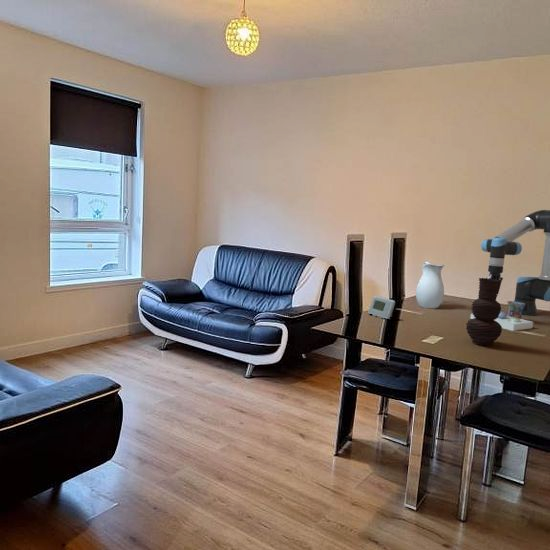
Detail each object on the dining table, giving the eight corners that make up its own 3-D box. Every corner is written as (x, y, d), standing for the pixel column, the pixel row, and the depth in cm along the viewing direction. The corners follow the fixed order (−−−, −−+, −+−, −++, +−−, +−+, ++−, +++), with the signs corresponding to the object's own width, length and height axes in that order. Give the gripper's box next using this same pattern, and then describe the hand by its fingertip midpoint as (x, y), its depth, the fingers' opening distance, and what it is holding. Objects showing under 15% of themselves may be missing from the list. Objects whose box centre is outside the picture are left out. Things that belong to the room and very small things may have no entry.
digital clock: (366, 314, 277) (367, 295, 276) (379, 313, 280) (381, 295, 279) (382, 320, 262) (384, 301, 261) (396, 320, 266) (398, 301, 264)
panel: (489, 317, 288) (490, 311, 288) (532, 328, 267) (533, 321, 266) (470, 319, 279) (470, 313, 278) (513, 330, 257) (514, 324, 256)
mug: (520, 323, 277) (523, 305, 276) (503, 320, 283) (505, 302, 281) (525, 320, 287) (527, 302, 285) (508, 317, 292) (510, 300, 291)
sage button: (512, 324, 269) (513, 317, 269) (521, 327, 265) (522, 319, 265) (507, 325, 267) (508, 318, 266) (515, 327, 263) (516, 320, 262)
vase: (482, 349, 217) (490, 282, 212) (456, 339, 230) (464, 276, 226) (507, 347, 223) (516, 282, 219) (481, 338, 237) (488, 276, 233)
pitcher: (446, 310, 303) (451, 265, 299) (418, 308, 303) (423, 263, 299) (434, 302, 326) (438, 261, 323) (408, 301, 326) (413, 259, 323)
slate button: (499, 318, 276) (500, 311, 275) (507, 320, 272) (508, 313, 271) (494, 319, 273) (495, 312, 272) (502, 321, 269) (503, 314, 268)
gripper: (496, 264, 281) (491, 304, 284) (483, 264, 274) (478, 306, 277) (509, 266, 275) (503, 307, 278) (495, 266, 268) (490, 308, 271)
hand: (491, 306), depth 277 cm, fingers closed
